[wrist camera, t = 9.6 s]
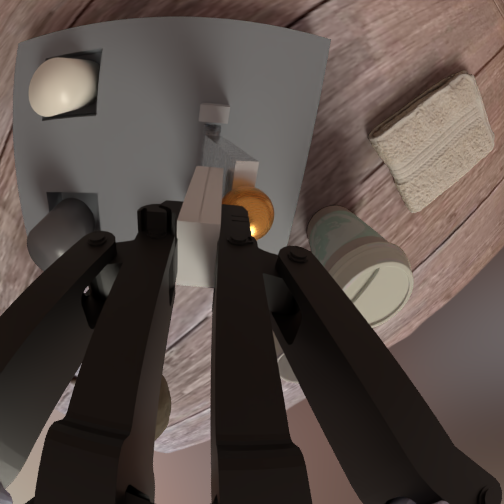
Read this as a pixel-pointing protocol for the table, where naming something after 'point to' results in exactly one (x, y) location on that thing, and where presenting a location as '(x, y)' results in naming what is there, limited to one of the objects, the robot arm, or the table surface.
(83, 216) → the dark gray button
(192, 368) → the table surface
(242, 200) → the lever
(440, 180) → the washcloth
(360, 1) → the table surface
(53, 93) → the cream button
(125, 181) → the panel
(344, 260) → the coffee cup
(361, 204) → the table surface
